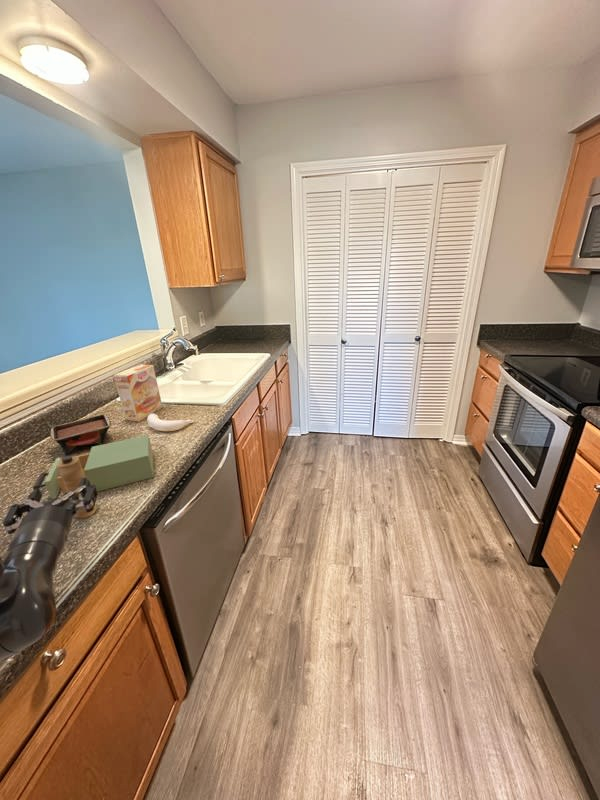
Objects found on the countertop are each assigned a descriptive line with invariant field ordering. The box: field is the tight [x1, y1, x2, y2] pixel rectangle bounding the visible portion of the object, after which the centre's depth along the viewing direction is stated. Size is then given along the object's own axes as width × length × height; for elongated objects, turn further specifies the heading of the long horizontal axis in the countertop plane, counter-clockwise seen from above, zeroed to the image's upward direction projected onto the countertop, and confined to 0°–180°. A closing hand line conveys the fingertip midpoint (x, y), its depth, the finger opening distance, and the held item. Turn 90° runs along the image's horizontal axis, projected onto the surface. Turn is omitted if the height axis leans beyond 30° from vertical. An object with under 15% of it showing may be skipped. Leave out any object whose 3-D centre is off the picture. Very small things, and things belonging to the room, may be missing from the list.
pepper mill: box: [57, 455, 98, 519], centre depth 78 cm, size 4×4×16 cm
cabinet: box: [84, 434, 155, 493], centre depth 96 cm, size 16×14×7 cm
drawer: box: [32, 452, 90, 500], centre depth 91 cm, size 18×13×5 cm
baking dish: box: [49, 413, 112, 456], centre depth 114 cm, size 14×18×10 cm
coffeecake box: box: [113, 364, 163, 422], centre depth 134 cm, size 15×7×20 cm, turn 164°
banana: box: [146, 413, 195, 432], centre depth 126 cm, size 5×19×15 cm
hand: (62, 486), depth 69 cm, fingers open, 8 cm apart
